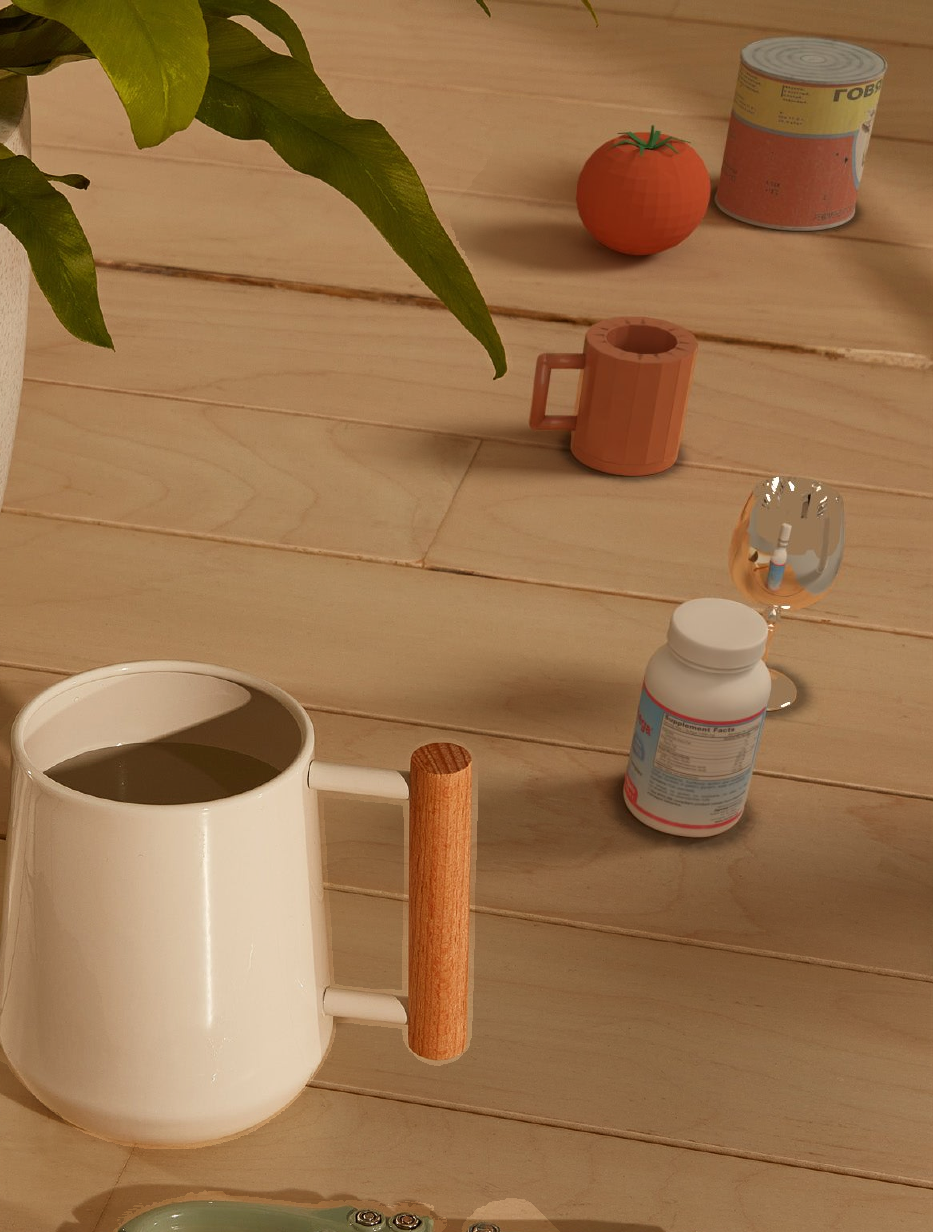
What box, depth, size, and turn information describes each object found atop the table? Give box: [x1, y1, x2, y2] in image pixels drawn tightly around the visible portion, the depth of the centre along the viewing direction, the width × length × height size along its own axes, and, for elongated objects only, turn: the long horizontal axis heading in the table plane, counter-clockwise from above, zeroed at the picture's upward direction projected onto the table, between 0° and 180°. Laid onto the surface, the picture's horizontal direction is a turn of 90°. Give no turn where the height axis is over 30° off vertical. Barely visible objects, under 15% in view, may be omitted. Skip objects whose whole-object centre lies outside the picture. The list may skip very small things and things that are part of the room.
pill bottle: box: [622, 597, 771, 838], centre depth 102 cm, size 6×6×11 cm
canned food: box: [714, 36, 888, 232], centre depth 166 cm, size 11×11×12 cm
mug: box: [528, 315, 699, 477], centre depth 134 cm, size 10×7×8 cm
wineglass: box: [728, 475, 847, 712], centre depth 110 cm, size 6×6×12 cm
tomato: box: [575, 124, 711, 256], centre depth 159 cm, size 10×10×10 cm
